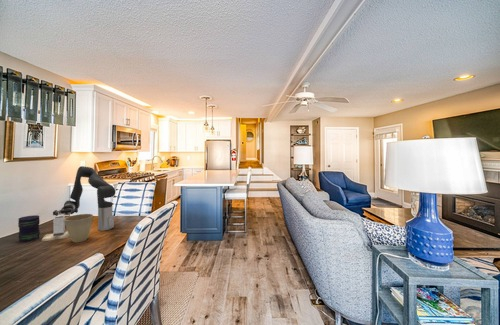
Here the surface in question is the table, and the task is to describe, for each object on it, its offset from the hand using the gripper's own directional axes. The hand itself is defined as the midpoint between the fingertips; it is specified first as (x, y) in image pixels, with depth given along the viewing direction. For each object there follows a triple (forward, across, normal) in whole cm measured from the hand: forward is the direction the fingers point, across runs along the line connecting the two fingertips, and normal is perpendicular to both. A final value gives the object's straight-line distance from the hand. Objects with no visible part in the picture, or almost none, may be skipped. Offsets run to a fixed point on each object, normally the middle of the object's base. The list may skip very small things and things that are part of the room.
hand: (64, 213), depth 156 cm
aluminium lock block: (+12, -1, +12) cm, 17 cm away
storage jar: (+9, -16, +13) cm, 23 cm away
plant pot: (+27, +12, +14) cm, 33 cm away
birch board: (+12, -1, +13) cm, 18 cm away
